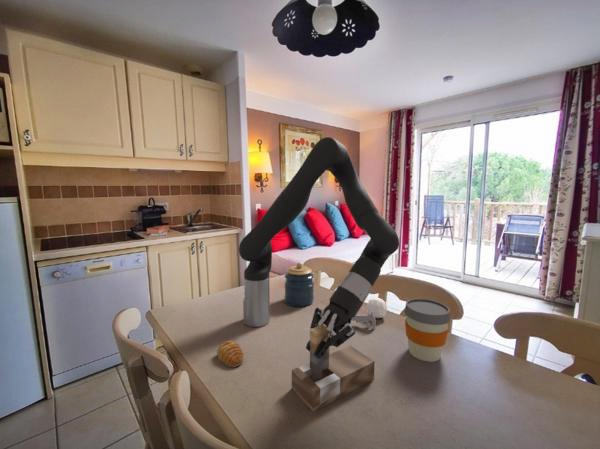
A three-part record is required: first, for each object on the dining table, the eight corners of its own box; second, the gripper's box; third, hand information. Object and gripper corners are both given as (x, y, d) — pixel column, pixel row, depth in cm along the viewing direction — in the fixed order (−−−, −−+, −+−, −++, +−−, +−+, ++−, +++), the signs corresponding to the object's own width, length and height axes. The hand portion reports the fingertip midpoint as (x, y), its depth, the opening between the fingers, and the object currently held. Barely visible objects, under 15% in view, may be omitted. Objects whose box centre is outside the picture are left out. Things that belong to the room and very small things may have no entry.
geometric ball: (375, 320, 113) (379, 301, 116) (389, 322, 106) (393, 301, 109) (360, 313, 110) (365, 294, 114) (374, 314, 103) (378, 293, 107)
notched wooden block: (312, 412, 63) (313, 391, 62) (291, 388, 70) (291, 370, 70) (373, 379, 74) (374, 361, 73) (349, 361, 81) (350, 345, 81)
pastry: (249, 363, 81) (249, 350, 80) (227, 372, 77) (227, 359, 76) (235, 348, 88) (234, 337, 88) (214, 356, 84) (214, 344, 84)
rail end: (315, 373, 66) (316, 333, 65) (309, 367, 69) (309, 329, 67) (329, 367, 69) (329, 328, 67) (322, 362, 71) (322, 324, 70)
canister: (283, 296, 131) (283, 259, 129) (311, 295, 132) (311, 258, 130) (285, 307, 118) (285, 267, 116) (315, 306, 119) (316, 266, 117)
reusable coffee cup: (402, 360, 82) (405, 311, 80) (402, 338, 94) (404, 296, 92) (450, 369, 78) (454, 318, 76) (444, 346, 90) (447, 301, 88)
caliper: (375, 328, 101) (376, 312, 101) (374, 330, 100) (375, 313, 100) (321, 318, 109) (321, 303, 108) (320, 319, 108) (321, 304, 107)
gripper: (325, 278, 76) (287, 334, 71) (364, 294, 65) (321, 362, 59) (340, 293, 80) (304, 347, 74) (378, 310, 68) (340, 376, 63)
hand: (312, 353), depth 67 cm, fingers closed on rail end, 2 cm apart
